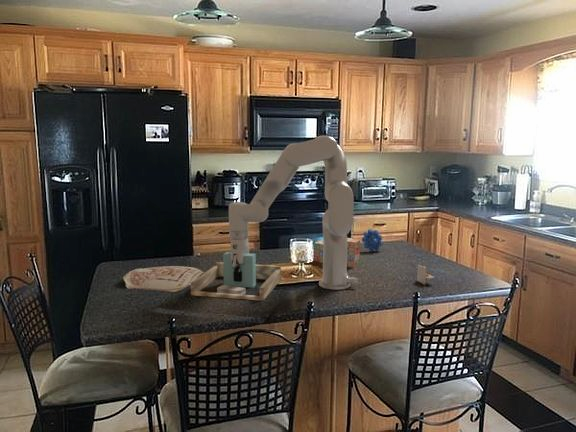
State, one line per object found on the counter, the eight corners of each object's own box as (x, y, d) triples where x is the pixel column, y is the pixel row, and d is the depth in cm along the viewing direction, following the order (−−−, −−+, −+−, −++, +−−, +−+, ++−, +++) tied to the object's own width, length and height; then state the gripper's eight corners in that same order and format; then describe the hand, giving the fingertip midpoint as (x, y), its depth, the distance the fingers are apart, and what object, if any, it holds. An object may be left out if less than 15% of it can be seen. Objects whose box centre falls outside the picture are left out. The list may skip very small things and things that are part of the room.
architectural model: (423, 280, 204) (424, 263, 203) (433, 285, 197) (434, 268, 196) (416, 281, 203) (417, 264, 202) (426, 286, 196) (427, 268, 195)
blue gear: (364, 254, 247) (365, 230, 245) (359, 251, 253) (360, 228, 251) (385, 252, 250) (386, 229, 248) (380, 249, 256) (380, 227, 254)
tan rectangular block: (313, 261, 233) (313, 236, 231) (319, 258, 238) (319, 234, 236) (354, 268, 222) (355, 241, 220) (360, 265, 227) (360, 239, 225)
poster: (116, 296, 194) (186, 298, 188) (113, 281, 193) (184, 283, 187) (148, 271, 221) (211, 273, 215) (147, 258, 219) (210, 259, 213)
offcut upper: (245, 293, 183) (245, 288, 183) (240, 296, 179) (240, 291, 179) (222, 289, 187) (222, 284, 186) (217, 292, 183) (217, 287, 183)
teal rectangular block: (255, 287, 193) (255, 253, 191) (253, 291, 190) (252, 256, 187) (227, 285, 196) (226, 252, 194) (223, 288, 192) (223, 254, 190)
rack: (281, 282, 200) (281, 265, 199) (263, 304, 175) (263, 285, 174) (216, 277, 207) (216, 261, 205) (190, 298, 181) (190, 280, 180)
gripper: (241, 239, 180) (242, 286, 183) (254, 230, 196) (255, 274, 199) (222, 238, 182) (223, 285, 185) (236, 229, 198) (237, 273, 201)
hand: (239, 279), depth 192 cm, fingers closed on teal rectangular block, 4 cm apart
